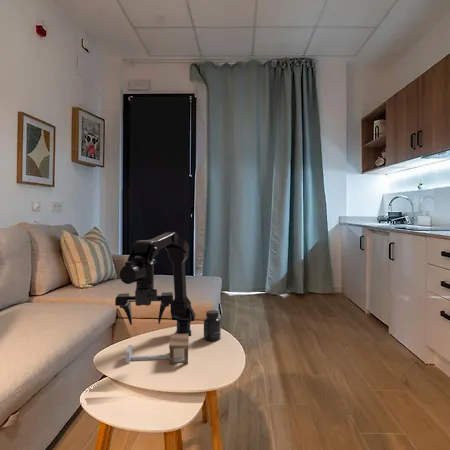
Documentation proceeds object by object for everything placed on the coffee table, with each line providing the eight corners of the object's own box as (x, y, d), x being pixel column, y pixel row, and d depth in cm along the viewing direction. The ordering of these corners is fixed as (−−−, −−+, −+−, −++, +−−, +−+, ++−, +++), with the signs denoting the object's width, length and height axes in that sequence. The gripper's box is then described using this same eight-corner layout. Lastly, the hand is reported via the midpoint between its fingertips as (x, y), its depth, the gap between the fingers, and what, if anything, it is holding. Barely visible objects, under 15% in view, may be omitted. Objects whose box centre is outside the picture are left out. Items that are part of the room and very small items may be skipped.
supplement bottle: (218, 345, 136) (218, 315, 135) (201, 344, 137) (201, 313, 137) (222, 338, 143) (222, 309, 142) (206, 337, 144) (206, 308, 143)
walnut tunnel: (170, 352, 127) (170, 333, 126) (188, 351, 127) (188, 333, 127) (169, 365, 116) (169, 345, 116) (188, 365, 117) (188, 345, 116)
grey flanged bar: (128, 355, 123) (128, 344, 123) (186, 353, 126) (186, 342, 125) (125, 364, 116) (125, 352, 116) (186, 361, 119) (186, 350, 118)
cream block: (173, 353, 124) (173, 342, 123) (185, 352, 124) (185, 341, 124) (173, 358, 120) (173, 346, 119) (185, 357, 120) (185, 346, 120)
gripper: (111, 283, 109) (112, 333, 109) (172, 282, 111) (172, 331, 112) (117, 276, 120) (118, 322, 120) (173, 275, 122) (173, 320, 123)
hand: (145, 324), depth 118 cm, fingers open, 9 cm apart
